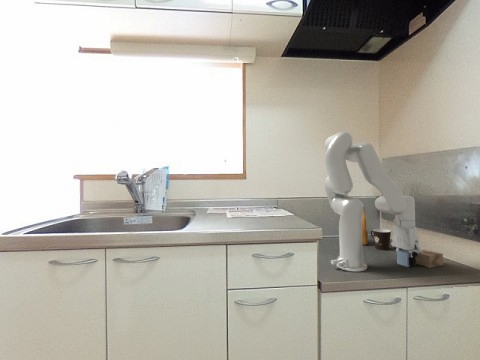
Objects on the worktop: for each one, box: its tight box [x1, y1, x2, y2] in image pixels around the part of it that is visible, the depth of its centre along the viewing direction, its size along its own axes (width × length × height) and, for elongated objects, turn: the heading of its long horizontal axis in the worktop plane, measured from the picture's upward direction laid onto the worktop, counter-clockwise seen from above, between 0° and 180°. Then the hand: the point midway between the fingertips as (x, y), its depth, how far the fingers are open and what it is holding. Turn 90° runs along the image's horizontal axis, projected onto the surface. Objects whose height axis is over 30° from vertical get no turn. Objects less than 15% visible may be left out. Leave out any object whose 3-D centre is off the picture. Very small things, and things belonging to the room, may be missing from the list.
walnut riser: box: [415, 248, 444, 268], centre depth 117 cm, size 8×8×5 cm
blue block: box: [396, 249, 413, 268], centre depth 117 cm, size 5×5×6 cm
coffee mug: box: [370, 228, 392, 251], centre depth 144 cm, size 12×9×10 cm
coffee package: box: [362, 206, 369, 246], centre depth 154 cm, size 10×12×22 cm
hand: (406, 263), depth 118 cm, fingers closed on blue block, 5 cm apart
